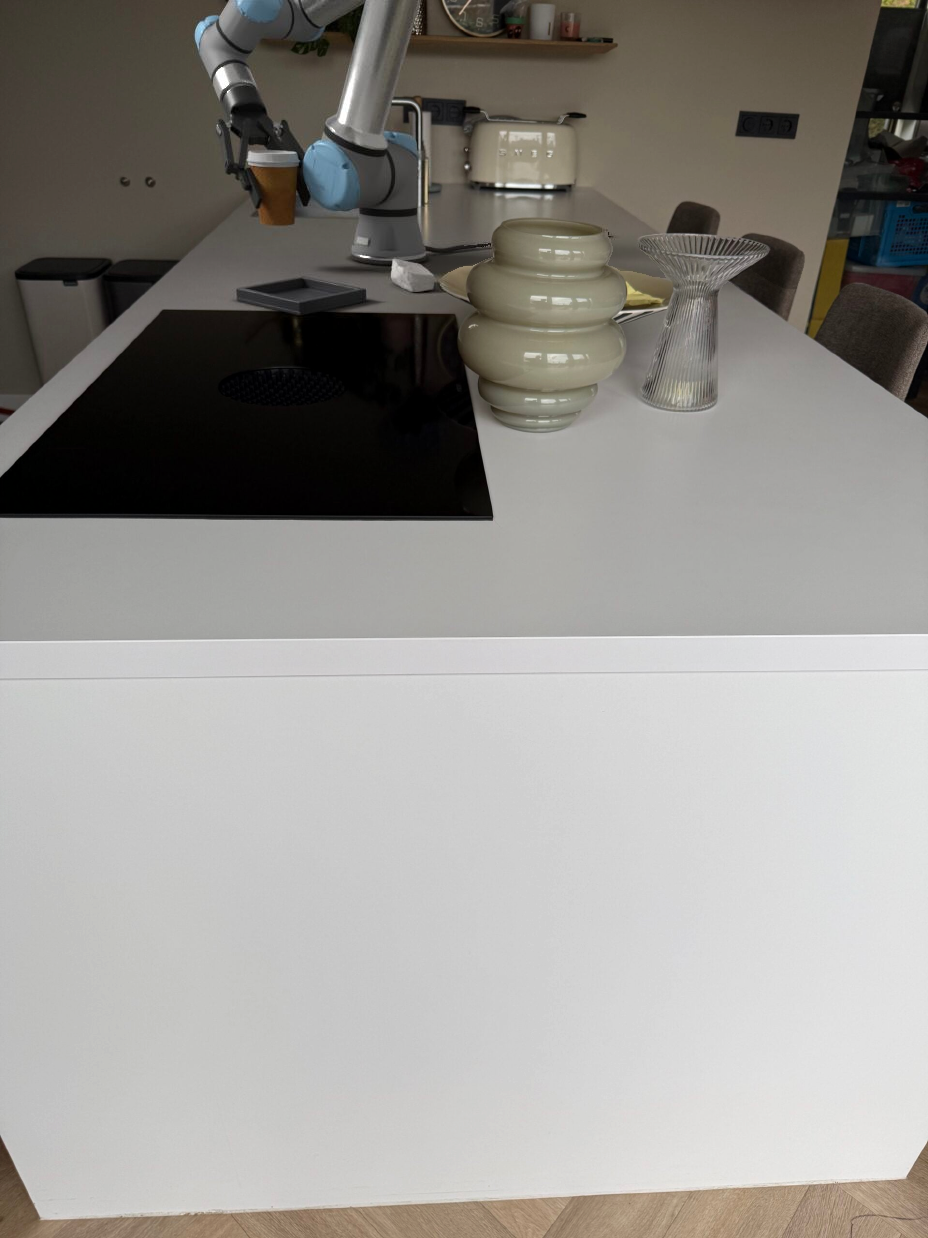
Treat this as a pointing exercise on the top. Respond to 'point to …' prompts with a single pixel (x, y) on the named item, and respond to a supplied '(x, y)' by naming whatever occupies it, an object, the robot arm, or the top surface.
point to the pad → (301, 295)
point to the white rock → (411, 276)
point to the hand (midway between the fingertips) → (283, 202)
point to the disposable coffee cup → (275, 185)
